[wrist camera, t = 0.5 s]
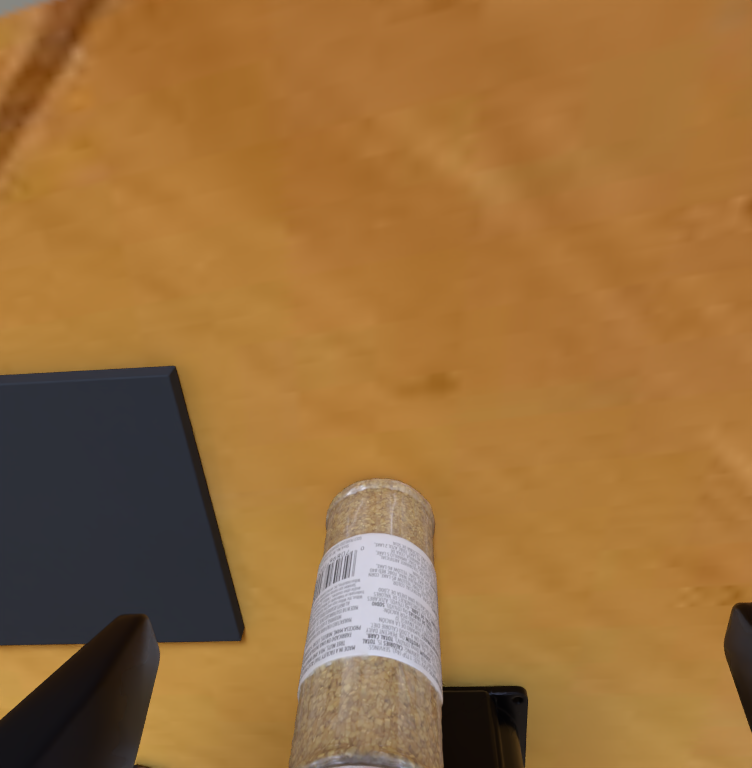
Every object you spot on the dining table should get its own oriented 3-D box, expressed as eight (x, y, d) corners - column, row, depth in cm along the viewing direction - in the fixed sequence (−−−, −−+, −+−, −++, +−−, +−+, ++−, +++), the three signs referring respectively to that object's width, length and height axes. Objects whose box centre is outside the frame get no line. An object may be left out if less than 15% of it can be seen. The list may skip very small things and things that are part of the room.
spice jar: (366, 571, 28) (334, 962, 16) (304, 501, 26) (219, 883, 14) (456, 530, 27) (494, 924, 15) (398, 454, 25) (388, 832, 13)
